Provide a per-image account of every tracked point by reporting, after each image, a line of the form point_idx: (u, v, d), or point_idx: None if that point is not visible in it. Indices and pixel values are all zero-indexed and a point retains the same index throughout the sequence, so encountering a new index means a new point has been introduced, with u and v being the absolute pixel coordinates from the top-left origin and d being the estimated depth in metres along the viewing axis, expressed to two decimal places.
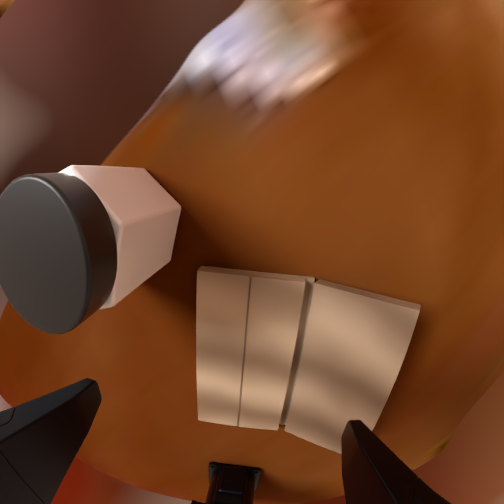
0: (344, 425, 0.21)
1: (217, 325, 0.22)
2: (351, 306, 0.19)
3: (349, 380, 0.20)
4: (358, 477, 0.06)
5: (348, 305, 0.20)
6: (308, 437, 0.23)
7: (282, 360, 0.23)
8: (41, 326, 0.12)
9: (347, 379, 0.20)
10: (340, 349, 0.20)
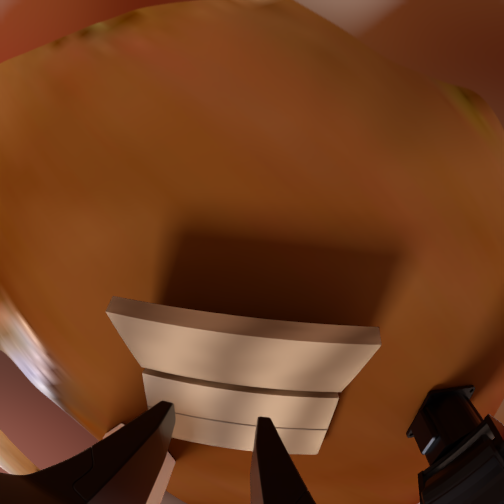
0: (305, 361, 0.16)
1: (194, 432, 0.22)
2: (141, 352, 0.19)
3: (225, 360, 0.17)
4: (254, 477, 0.06)
5: (142, 353, 0.19)
6: (344, 380, 0.18)
7: (225, 396, 0.21)
8: None
9: (224, 361, 0.18)
10: (190, 362, 0.19)
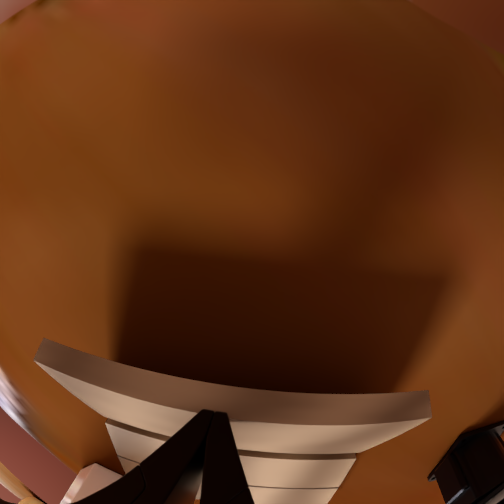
0: (318, 438, 0.10)
1: None
2: (95, 406, 0.12)
3: None
4: None
5: (96, 407, 0.12)
6: (368, 446, 0.12)
7: None
8: None
9: None
10: (156, 425, 0.12)
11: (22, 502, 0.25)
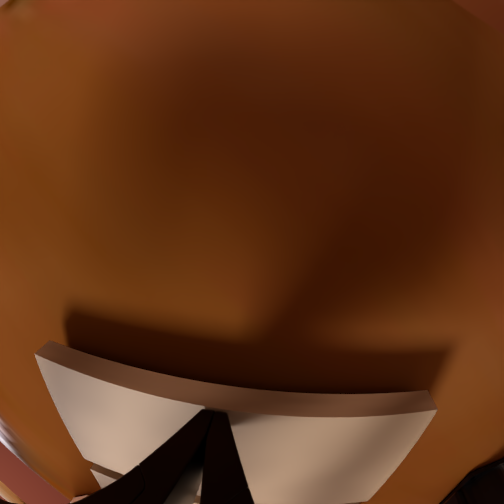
0: (323, 456, 0.09)
1: None
2: (81, 434, 0.10)
3: None
4: None
5: (82, 436, 0.10)
6: (376, 481, 0.09)
7: None
8: None
9: None
10: None
11: None
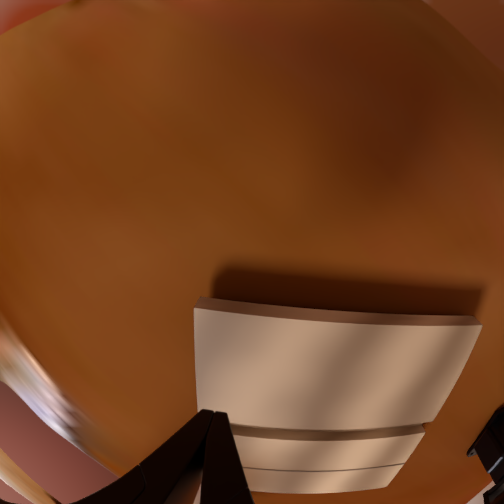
0: (417, 365, 0.13)
1: (257, 482, 0.17)
2: (213, 386, 0.15)
3: (331, 379, 0.14)
4: None
5: (213, 389, 0.15)
6: (442, 396, 0.14)
7: (305, 447, 0.16)
8: None
9: (329, 382, 0.14)
10: (280, 394, 0.14)
11: None
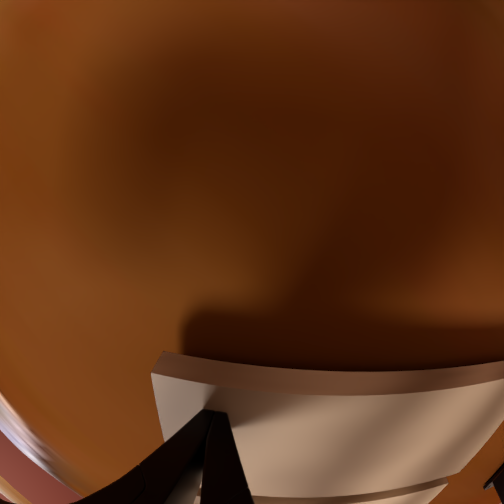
0: (457, 426, 0.08)
1: None
2: None
3: (348, 454, 0.09)
4: None
5: None
6: (475, 449, 0.09)
7: None
8: None
9: (345, 457, 0.09)
10: (279, 470, 0.09)
11: None
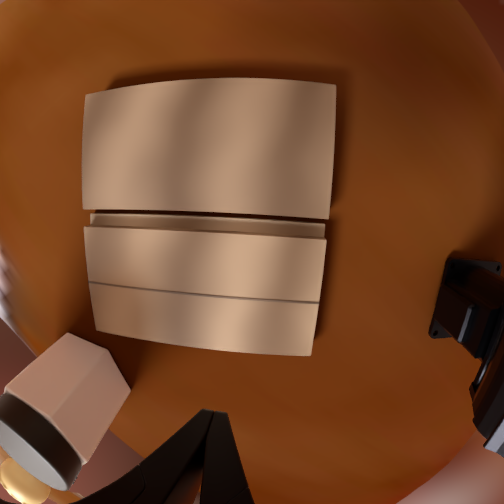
0: (265, 120, 0.15)
1: (143, 318, 0.19)
2: (93, 163, 0.16)
3: (179, 135, 0.16)
4: None
5: (92, 166, 0.16)
6: (323, 173, 0.16)
7: (175, 243, 0.17)
8: (58, 476, 0.11)
9: (178, 139, 0.16)
10: (140, 160, 0.16)
11: (5, 460, 0.27)
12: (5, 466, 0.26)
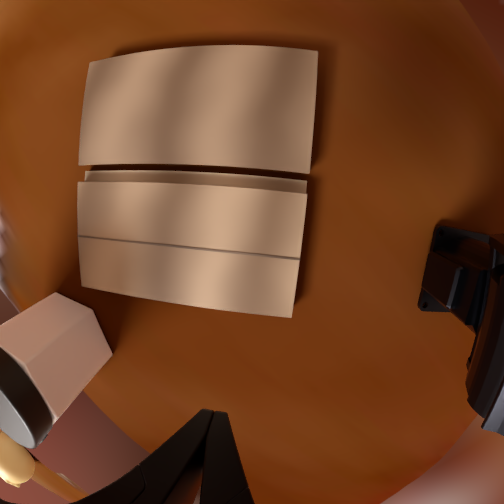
0: (250, 81, 0.15)
1: (126, 272, 0.19)
2: (91, 122, 0.17)
3: (171, 95, 0.16)
4: None
5: (90, 125, 0.17)
6: (304, 129, 0.16)
7: (161, 195, 0.18)
8: (25, 427, 0.11)
9: (170, 98, 0.16)
10: (134, 118, 0.16)
11: None
12: None
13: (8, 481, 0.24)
